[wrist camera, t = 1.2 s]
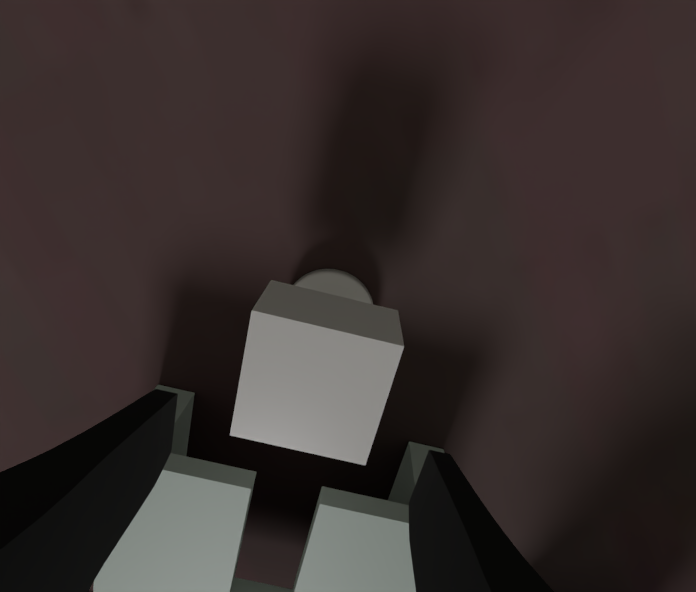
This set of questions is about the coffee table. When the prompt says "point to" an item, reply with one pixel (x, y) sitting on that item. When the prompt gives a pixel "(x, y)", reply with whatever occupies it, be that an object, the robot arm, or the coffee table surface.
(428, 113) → the coffee table surface
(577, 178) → the coffee table surface
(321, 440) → the peg
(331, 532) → the slot bracket
